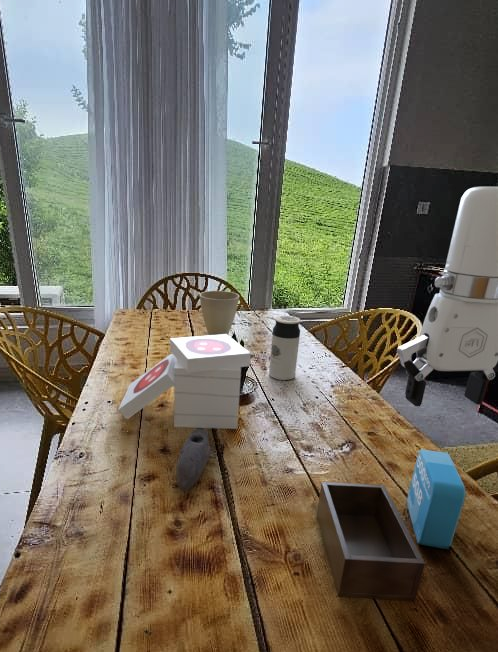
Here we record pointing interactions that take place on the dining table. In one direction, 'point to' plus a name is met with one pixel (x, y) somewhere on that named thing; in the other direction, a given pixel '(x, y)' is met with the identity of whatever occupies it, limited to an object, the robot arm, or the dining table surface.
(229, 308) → the plant pot
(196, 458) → the perforated stone tool
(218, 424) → the pizza boxes
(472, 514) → the dining table surface
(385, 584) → the box
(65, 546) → the dining table surface
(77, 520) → the dining table surface
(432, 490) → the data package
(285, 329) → the travel mug
